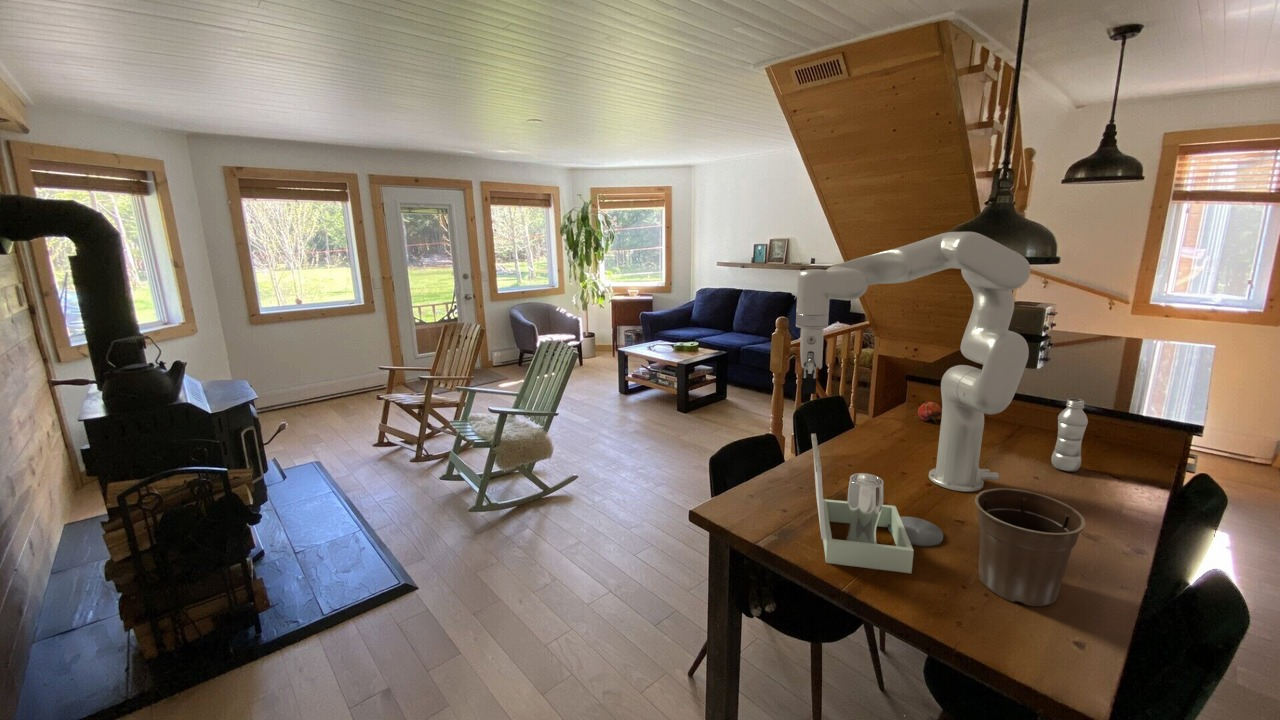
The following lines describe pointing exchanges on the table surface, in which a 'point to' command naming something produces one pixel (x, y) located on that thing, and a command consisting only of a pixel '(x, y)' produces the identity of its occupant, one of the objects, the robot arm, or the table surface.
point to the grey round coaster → (921, 531)
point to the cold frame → (868, 553)
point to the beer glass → (864, 507)
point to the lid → (818, 485)
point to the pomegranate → (929, 411)
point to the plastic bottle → (1070, 436)
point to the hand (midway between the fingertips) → (808, 387)
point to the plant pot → (1025, 544)
